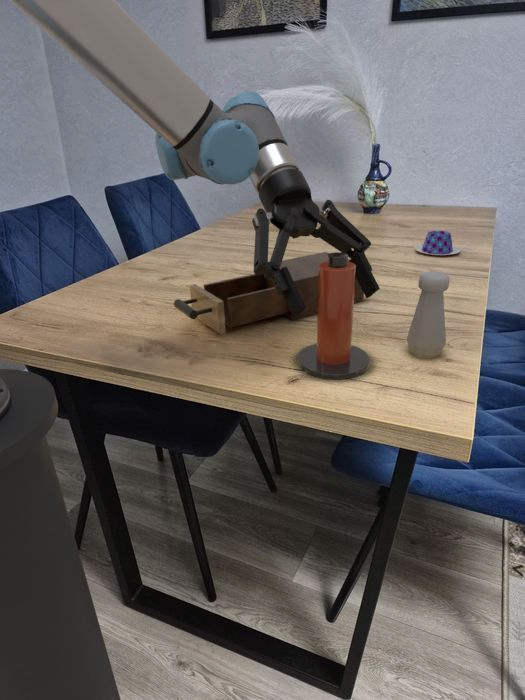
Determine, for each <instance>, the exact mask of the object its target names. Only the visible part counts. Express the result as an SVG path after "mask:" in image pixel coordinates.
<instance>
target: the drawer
mask: <svg viewBox="0 0 525 700" xmlns="http://www.w3.org/2000/svg"><path fill="white" fill-rule="evenodd" d="M264 275H265V274H261V275H259V276H257V275H255V274H254V273H253V274H248V275H242V276H238V277H233V278H228V279H224V280H223V279H222V280H219V281H215V282H210V283H205V284H203V288H202V287H201V286H199V285H198V284H196V283H194V284H189V294H190V299H186V300H181V299H179V298H176V299H175V300H174V301H173V306H174V308H175V309H177V310H179V311H180V312H181V313H183V314H184V316H187V317H188V318H189V319H190V320H196V319H199V320H200V321H201V322H203V323H204V324H206V326H208V327H210V328H211V329H212V330H214V331H215V332H216V333H218V334H219V335H220V334H225V333H226V331H227V330H226V326H227V327H229V328H235V327H238V326H243V325H247V324H251V323H253V322H258V321H261V320H264V319H268V318H272V317H276V316H279V315H280V316H281V315H284V313H288V312H290V309H289V307H288V305H287V303H286V301H285V299H284V296H283V295H279V294H278V293H277V291H276V289H275V287H274V285H273V283H272V281H271V280H267V279H266V278H265V277H264Z"/></svg>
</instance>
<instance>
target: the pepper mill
mask: <svg viewBox="0 0 525 700" xmlns="http://www.w3.org/2000/svg"><path fill="white" fill-rule="evenodd" d="M328 253H329V254H328V257H327V261H326V262H322V263H320V264H319V272H318V312H317V314H316V315H317V317H316V318H317V319H316V344H317V352H316V357H317V359H318V360H319V361H320V362H322V363H325V364H329V365H341V364H345V363H347V362H348V361H349V360H350V358H351V345H352V339H353V325H354V324H353V323H354V308H355V303H354V292H355V276H356V265H355V264H354V263H352V262H348V259H349V257H348V254H346V253H342V252H340V251H338V252H328Z"/></svg>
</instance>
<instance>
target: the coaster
mask: <svg viewBox="0 0 525 700" xmlns="http://www.w3.org/2000/svg"><path fill="white" fill-rule="evenodd" d="M316 352H317V343H314V344H310V345H307V346H305V347H304V348H302V349H301V350H300V351H299V352H298V354H297V358H296V359H297V365H298V367H299V368H300V369H301V370H302V371H303V372H304V373H306V374H308V375H310V376H313V377H316V378H320V379H326V380H346V379H352V378H355V377H358V376H361V375H363V374H364V373H365V372H367V370H368V369H369V367H370V365H371V364H370V362H371V361H370V360H371V359H370V356H369V355H368V353H367V352H366V351H365V350H363V349H362V348H360V347H358V346H355V345H352V344H351V358H350V360H349V361H348V362H347V363H345V364H341V365H329V364H325V363H322V362H320V361H319V360H318V359H317V357H316Z"/></svg>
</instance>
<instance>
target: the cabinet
mask: <svg viewBox="0 0 525 700" xmlns="http://www.w3.org/2000/svg"><path fill="white" fill-rule="evenodd" d="M329 253H330V252H327V251H324V252H319V253H318V252H317V253H313V254H309V255H303V256H298V257H294V258H289V259H284V260H282V263H281V266H280V270H281V269H282V268H283V267H287V268H288V271H289V273H290V275H291V277H292V279H293V281H294V283H295V285H296V288H297V290H298V292H299V294H300V296H301V298H302V300H303V302H304V304H305V307H306V308H305V309H304V310H303V311H302V312H301V313H300V314H299V315H298V316H297V317H293V316H292V314H291V312H288V313H284V314H283V316H286V317H287V318H289V319H290V320H293V321H295V320H299V319H302V318H305V317H310V316H313V315H317V312H318V272H319V264H320V263H322V262H326V261H327V257H328V254H329ZM350 259H351V258H348V262H349V260H350ZM364 297H365V294H364V293H363V291H362V289H361V287H360V285H359V283H358V281H357V279H356V277H355V292H354V304H356V303H360V302H364Z"/></svg>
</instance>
